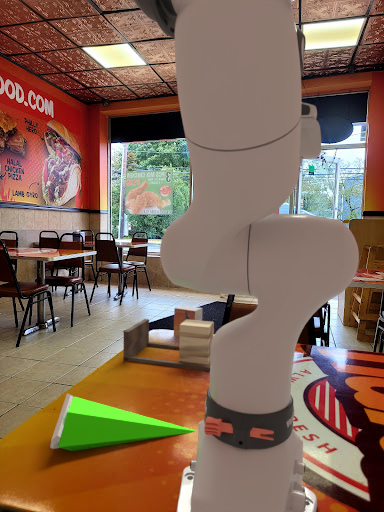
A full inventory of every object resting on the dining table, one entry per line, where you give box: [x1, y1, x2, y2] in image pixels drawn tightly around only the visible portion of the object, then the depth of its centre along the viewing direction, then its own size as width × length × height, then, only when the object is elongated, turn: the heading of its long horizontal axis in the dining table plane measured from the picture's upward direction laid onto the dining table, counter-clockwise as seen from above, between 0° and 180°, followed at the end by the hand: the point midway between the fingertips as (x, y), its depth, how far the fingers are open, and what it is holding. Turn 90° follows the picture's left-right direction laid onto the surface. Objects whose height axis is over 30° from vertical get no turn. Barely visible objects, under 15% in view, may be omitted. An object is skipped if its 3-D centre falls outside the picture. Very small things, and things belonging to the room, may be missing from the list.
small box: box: [173, 305, 203, 338], centre depth 119 cm, size 8×6×10 cm
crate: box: [178, 319, 215, 366], centre depth 98 cm, size 6×8×10 cm
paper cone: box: [49, 393, 197, 452], centre depth 64 cm, size 11×5×25 cm
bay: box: [123, 318, 210, 372], centre depth 100 cm, size 14×24×9 cm, turn 74°
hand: (269, 180), depth 77 cm, fingers open, 8 cm apart
